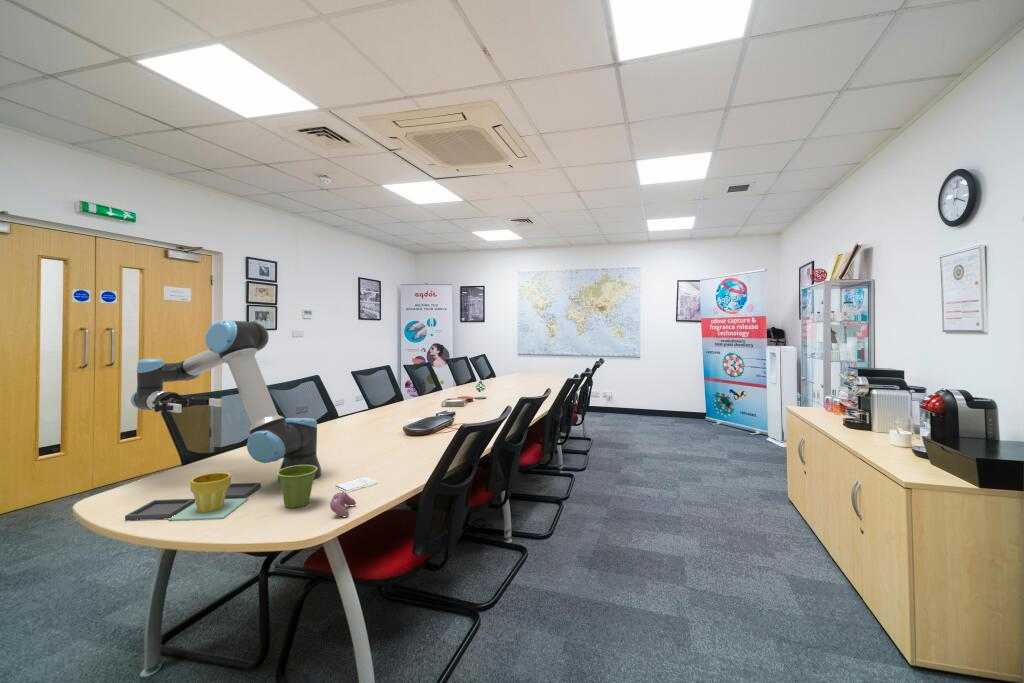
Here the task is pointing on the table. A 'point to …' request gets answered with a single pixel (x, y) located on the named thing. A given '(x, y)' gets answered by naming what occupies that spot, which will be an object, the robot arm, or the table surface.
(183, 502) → the tray
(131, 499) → the table surface
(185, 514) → the pad
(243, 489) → the tray
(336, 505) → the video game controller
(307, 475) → the plant pot
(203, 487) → the plant pot
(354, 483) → the white flat block
